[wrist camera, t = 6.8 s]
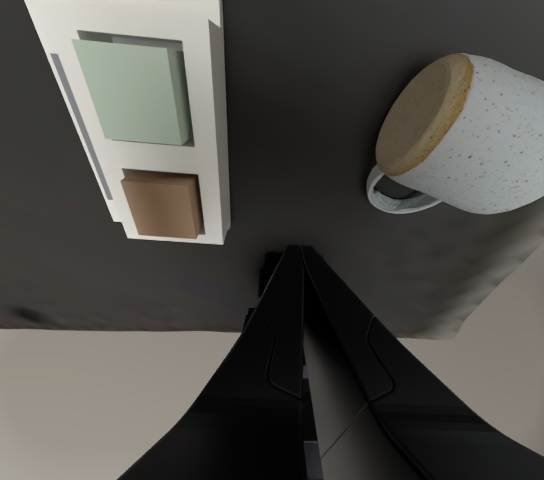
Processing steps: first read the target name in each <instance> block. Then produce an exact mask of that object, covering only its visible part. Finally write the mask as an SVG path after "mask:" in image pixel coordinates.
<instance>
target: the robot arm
mask: <svg viewBox="0 0 544 480" xmlns="http://www.w3.org/2000/svg"><path fill="white" fill-rule="evenodd" d="M269 257H271V258H269ZM117 480H544V456H541V455H540V454H538V453H536V452H534V451H532V450H530V449H529V448H527V447H525V446H523V445H521V444H519V443H517V442H516V441H514V440H512V439H510V438H509V437H507V436H506V435H504V434H503V433H501V432H500V431H498V430H497V429H495V428H494V427H493V426H491V425H490V424H489V423H487V422H486V421H485V420H484V419H482V418H481V417H480V416H478V415H477V414H476V413H475V412H474V411H473V410H472V409H471V408H469V407H468V406H467V405H466V404H465V403H464V402H463V401H462V400H461V399H459V398H458V397H457V396H456V395H455V394H454V393H453V392H452V391H451V390H450V389H449V388H448V387H447V386H446V385H445V384H444V383H442V382H441V381H440V380H439V379H438V378H437V377H436V376H435V375H434V374H433V373H432V372H431V371H430V370H428V369H427V368H426V367H425V366H424V365H423V364H422V363H421V362H420V361H419V360H418V359H417V358H416V357H415V356H414V355H413V354H412V353H411V352H410V351H409V350H407V349H406V348H405V347H404V346H403V345H402V344H401V343H400V342H399V341H398V340H397V339H396V338H395V336H394V335H393V334H392V333H391V332H390V331H389V330H388V329H387V328H386V327H385V326H384V325H383V324H382V323H381V322H380V321H379V319H378V318H377V317H374V314H373V313H372V312H371V311H370V310H369V309H368V308H367V306H366V305H365V304H364V303H363V302H362V301H361V300H360V299H359V298H358V297H357V296H356V294H355V293H354V292H353V291H352V290H351V289H350V288H349V287H348V286H347V285H346V283H345V282H344V281H343V280H342V279H341V278H340V277H339V276H338V275H337V274H336V273H335V271H334V270H333V269H332V268H331V267H330V266H329V265H328V264H327V263H326V262H325V260H324V259H323V257H321V256H320V255H319V254H318V253H317V252H316V251H315V250H314V248H313V247H311V246H304V245H301V246H300V247H299V246H298V245H288V246H287V248H286V250H285V251H284V253H283V254H282V253H267V254H266V255H265V267H264V268H262V269H260V278H259V291H258V304H257V306H256V308H249V311H248V315H246V318H245V323H244V327H243V331H242V333H241V335H240V337H239V338H238V340H237V341H236V343H235V344H234V346H233V347H232V349H231V350H230V352H229V353H228V355H227V356H226V358H225V359H224V360H223V362H222V363H221V365H220V366H219V368H218V369H217V370H216V372H215V373H214V375H213V376H212V378H211V379H210V380H209V382H208V383H207V385H206V386H205V388H204V389H203V391H202V392H201V393H200V395H199V396H198V397H197V399H196V400H195V401H194V403H193V404H192V405H191V407H190V408H189V409H188V411H187V412H186V413H185V414H184V415H183V417H182V418H181V419H180V420H179V421H178V422H177V423H176V425H174V427H173V428H172V429H171V430H170V431H169V432H168V433H166V434H165V435H164V436H163V437H162V438H161V439H160V440H159V441H158V442H157V443H156V444H155V445H153V446H152V447H151V449H149V450H148V451H147V452H146V453H145V454H144V455H143V456H142V457H141V458H140V459H138V460H137V461H136V462H135V463H134V464H133V465H132V466H131V467H130V468H129V469H128V470H127V471H126V472H125V473H123V474H122V475H121V476H120V477H119V478H118V479H117Z"/></svg>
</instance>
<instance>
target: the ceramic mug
mask: <svg viewBox="0 0 544 480" xmlns="http://www.w3.org/2000/svg"><path fill="white" fill-rule="evenodd" d="M376 161H377V165H376V166H375V167H374V168H373V169H372V171H371V173H370V175H369V176H368V179H367V186H366V189H367V196H368V199H369V201H370V203H371V204H372V205H373V206H375V207H376V208H378V209H380V210H382V211H385V212H388V213H396V214H404V213H411V212H416V211H420V210H423V209H426V208H429V207H432V206H434V205H436V204H438V203H440V202H442V201H443V202H446V203H448V204H450V205H452V206H455V207H457V208H459V209H462V210H464V211H468V212H472V213H478V214H494V213H500V212H505V211H510V210H513V209H516V208H518V207H521V206H524V205H526V204H529V203H531V202H533V201H535V200H537V199H539V198H540V197H542V196H544V81H542V80H540V79H537V78H535V77H532V76H530V75H527V74H524V73H522V72H519V71H516V70H514V69H512V68H510V67H508V66H506V65H504V64H501V63H499V62H497V61H495V60H492V59H490V58H486V57H482V56H476V55H470V54H466V53H455V54H450V55H446V56H444V57H442V58H440V59H438V60H436V61H434V62H433V63H431V64H430V65H428V66H427V67H426V68H424V69H423V70H422V71H421V72H420V73H418V74H417V75H416V76H415V77H414V78H413V79H412V80H411V81H410V83H409V84H408V85H407V86H406V87H405V88H404V90H403V91H402V92H401V94H400V95H399V97H398V98H397V100H396V101H395V103H394V104H393V106H392V107H391V109H390V111H389V113H388V115H387V117H386V119H385V121H384V123H383V125H382V128H381V130H380V133H379V136H378V139H377V144H376ZM384 174H385V175H386V176H388V177H389V178H391V179H392V180H394V181H395V182H397V183H399V184H402V185H404V186H407V187H409V188H412V189H415V190H418V191H420V192H423V193H424V194H421V195H419V196H416V197H413V198H408V199H403V200H398V199H391V198H389V197H387V196H385V195H383V194H381V193H380V192H379V191H377V190H373V188H374V186H375V184H376V183H377V182H378V180H379V179H380V178H381V177H382V176H383V175H384Z"/></svg>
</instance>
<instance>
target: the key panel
mask: <svg viewBox="0 0 544 480" xmlns="http://www.w3.org/2000/svg"><path fill="white" fill-rule="evenodd" d="M24 1H25V3H26V6H27V8H28V11H29V13H30V15H31V18H32V20H33V23H34V25H35V28H36V30H37V33H38V35H39V38H40V40H41V43H42V45H43V48H44V50H45V53H46V55H47V58H48V60H49V62H50V65H51V67H52V70H53V72H54V75H55V77H56V80H57V82H58V85H59V87H60V90H61V92H62V95H63V97H64V100H65V102H66V104H67V107H68V109H69V112H70V114H71V117H72V119H73V122H74V124H75V127H76V129H77V132H78V134H79V137H80V139H81V142H82V144H83V146H84V149H85V151H86V154H87V156H88V159H89V161H90V164H91V166H92V169H93V171H94V174H95V176H96V179H97V181H98V184H99V186H100V188H101V191H102V193H103V196H104V198H105V201H106V203H107V206H108V208H109V211H110V213H111V216H112V218H113V221H116V222H122V224H123V227H124V229H125V232H126V235H127V237H128V238H134V239H149V240H163V241H177V242H192V243H206V244H220V245H223V243H224V240H225V237H226V233H227V230H229V228H230V225H231V219H230V192H229V165H228V138H227V112H226V85H225V58H224V31H223V4H222V0H24ZM71 39H78V40H88V41H98V42H108V43H118V44H128V45H138V46H148V47H158V48H167V49H173V50H178V51H183V53H184V61H185V69H186V77H187V86H188V94H189V102H190V110H191V119H192V127H193V135H194V136H192V137H191V138H190V139H189V140H187V141H186V142H185V143H184V144H183V145H172V144H160V143H148V142H137V141H125V140H113V139H105V136H104V133H103V130H102V127H101V124H100V122H99V119H98V116H97V113H96V110H95V107H94V104H93V101H92V98H91V95H90V92H89V89H88V86H87V84H86V81H85V78H84V75H83V72H82V69H81V66H80V63H79V60H78V57H77V54H76V51H75V49H74V46H73V43H72V40H71ZM136 169H138V170H150V171H162V172H175V173H187V174H198V176H199V185H200V193H201V201H202V210H203V218H204V224H203V226H202V228H201V230H200V232H199V234H198V237H197V239H187V238H172V237H158V236H144V235H139V234H138V231H137V229H136V226H135V223H134V220H133V217H132V214H131V211H130V208H129V205H128V202H127V199H126V196H125V193H124V190H123V188H122V185H121V182H120V181H121V180H122V179H124V178H125V177H126V176H128V175H129V174H130V173H132V172H133V171H135V170H136Z"/></svg>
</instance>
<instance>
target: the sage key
mask: <svg viewBox="0 0 544 480" xmlns="http://www.w3.org/2000/svg"><path fill="white" fill-rule="evenodd" d="M71 40H72V43H73V46H74V49H75V51H76V54H77V57H78V60H79V63H80V66H81V69H82V72H83V75H84V78H85V81H86V84H87V86H88V89H89V92H90V95H91V98H92V101H93V104H94V107H95V110H96V113H97V116H98V119H99V122H100V124H101V127H102V130H103V133H104V136H105V139H113V140H125V141H137V142H148V143H160V144H172V145H183V144H184V143H185V142H186V141H187V140H189V139H190V138H191V137H192V136H194V135H193V127H192V119H191V110H190V102H189V94H188V86H187V77H186V69H185V61H184V53H183V51H178V50H173V49H167V48H158V47H148V46H138V45H128V44H118V43H108V42H98V41H88V40H78V39H71Z"/></svg>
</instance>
